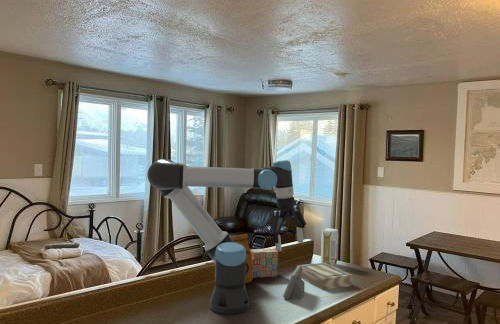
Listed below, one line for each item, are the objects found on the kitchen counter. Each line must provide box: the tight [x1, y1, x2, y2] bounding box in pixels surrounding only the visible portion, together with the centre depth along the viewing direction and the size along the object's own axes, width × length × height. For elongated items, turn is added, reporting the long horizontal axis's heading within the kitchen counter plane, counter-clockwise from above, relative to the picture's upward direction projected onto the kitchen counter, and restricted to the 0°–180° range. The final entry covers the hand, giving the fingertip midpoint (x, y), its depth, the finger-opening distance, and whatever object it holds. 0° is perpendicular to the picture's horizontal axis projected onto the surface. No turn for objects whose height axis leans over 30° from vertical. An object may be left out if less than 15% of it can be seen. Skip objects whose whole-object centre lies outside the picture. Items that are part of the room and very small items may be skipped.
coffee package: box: [230, 233, 253, 284], centre depth 182 cm, size 10×12×22 cm
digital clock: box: [282, 265, 305, 300], centre depth 169 cm, size 16×9×11 cm, turn 152°
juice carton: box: [320, 227, 339, 267], centre depth 216 cm, size 8×9×19 cm
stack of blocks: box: [250, 248, 279, 279], centre depth 194 cm, size 21×6×12 cm, turn 107°
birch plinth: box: [296, 262, 353, 291], centre depth 189 cm, size 16×22×5 cm
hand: (290, 246), depth 171 cm, fingers open, 13 cm apart
